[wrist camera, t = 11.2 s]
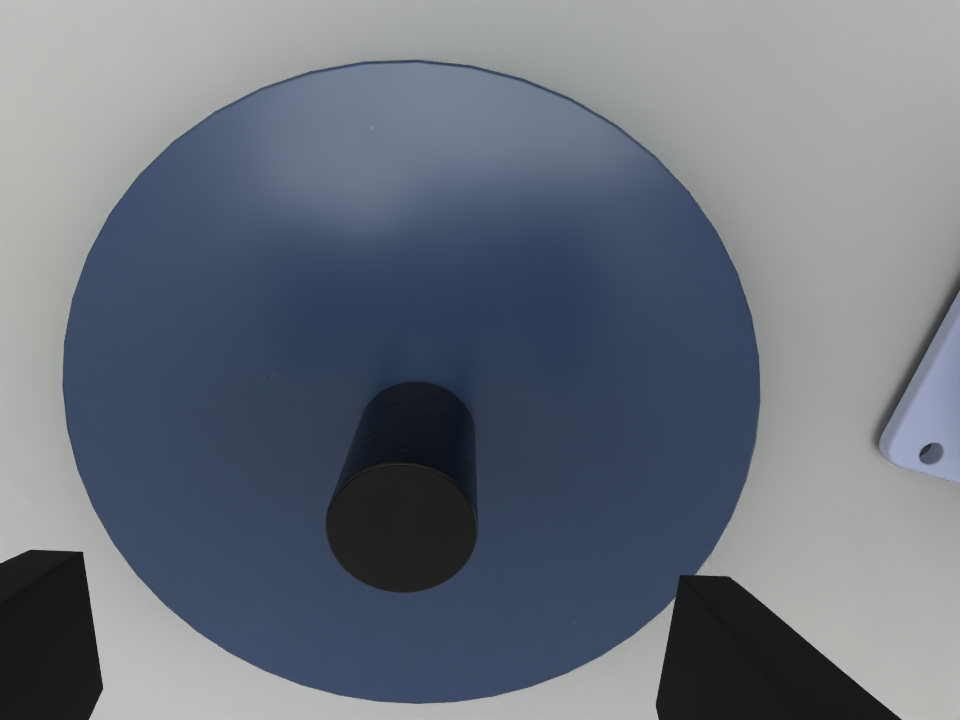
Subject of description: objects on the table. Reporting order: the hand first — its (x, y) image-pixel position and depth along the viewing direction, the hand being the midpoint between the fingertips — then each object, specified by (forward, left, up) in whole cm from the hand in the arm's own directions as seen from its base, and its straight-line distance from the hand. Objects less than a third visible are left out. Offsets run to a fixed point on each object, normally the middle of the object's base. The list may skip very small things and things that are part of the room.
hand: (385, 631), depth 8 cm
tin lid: (0, 0, -6) cm, 6 cm away
